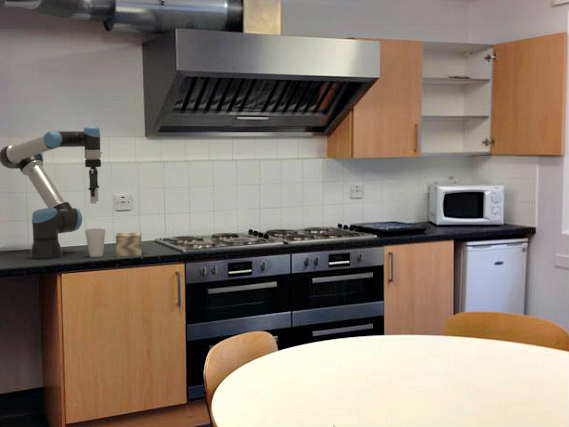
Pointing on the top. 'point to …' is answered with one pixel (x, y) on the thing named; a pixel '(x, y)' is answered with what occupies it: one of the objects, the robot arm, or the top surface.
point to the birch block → (128, 244)
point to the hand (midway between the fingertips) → (94, 202)
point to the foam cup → (95, 241)
